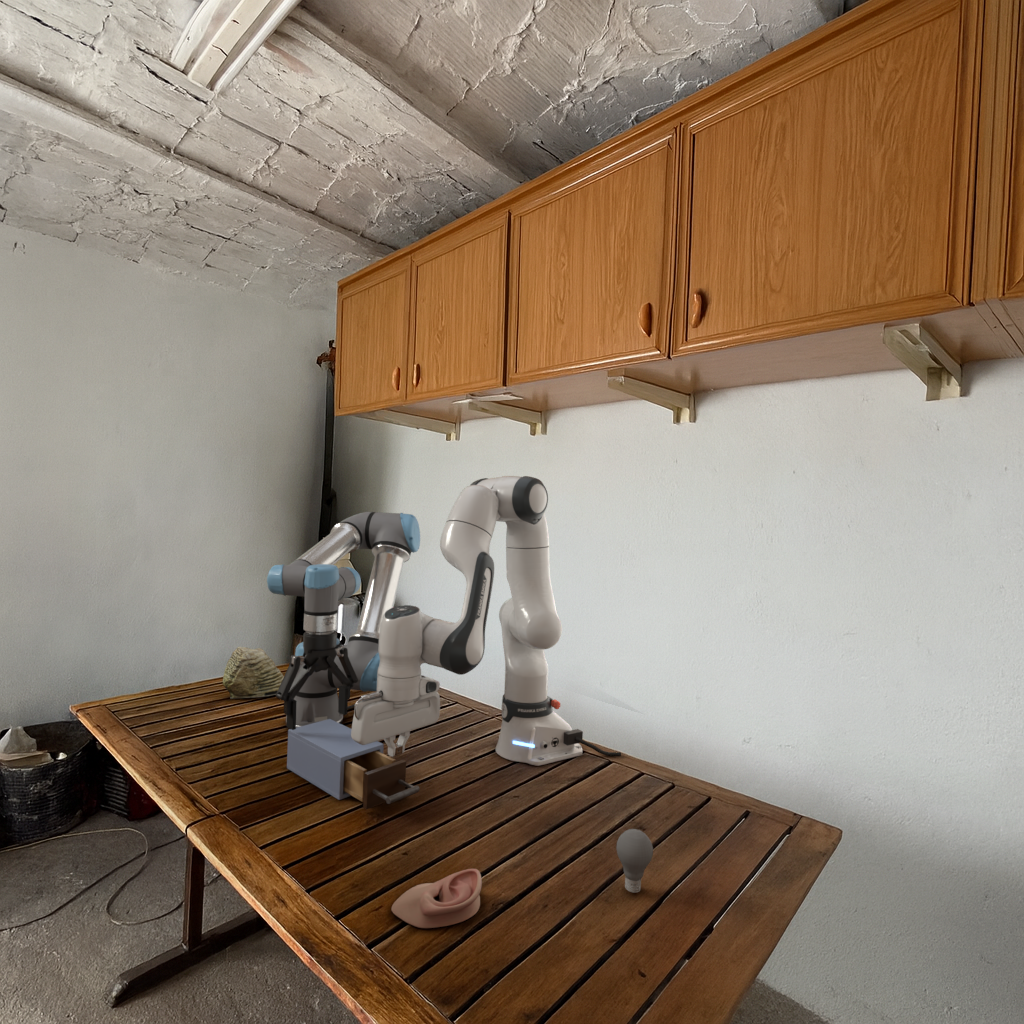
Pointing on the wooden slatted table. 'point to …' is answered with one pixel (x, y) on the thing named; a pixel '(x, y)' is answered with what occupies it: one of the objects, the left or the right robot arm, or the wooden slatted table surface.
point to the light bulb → (634, 857)
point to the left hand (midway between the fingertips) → (317, 720)
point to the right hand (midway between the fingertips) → (396, 754)
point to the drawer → (376, 779)
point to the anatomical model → (441, 901)
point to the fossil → (251, 674)
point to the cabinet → (324, 754)
